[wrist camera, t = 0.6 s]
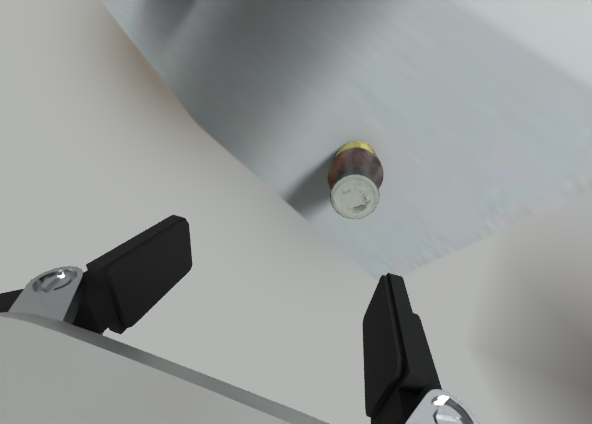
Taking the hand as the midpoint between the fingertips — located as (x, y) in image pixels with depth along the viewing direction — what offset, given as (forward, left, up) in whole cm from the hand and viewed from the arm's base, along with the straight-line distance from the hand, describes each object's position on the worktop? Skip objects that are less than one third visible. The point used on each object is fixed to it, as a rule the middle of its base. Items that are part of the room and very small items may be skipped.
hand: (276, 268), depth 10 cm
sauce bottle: (-3, +3, -30) cm, 30 cm away
